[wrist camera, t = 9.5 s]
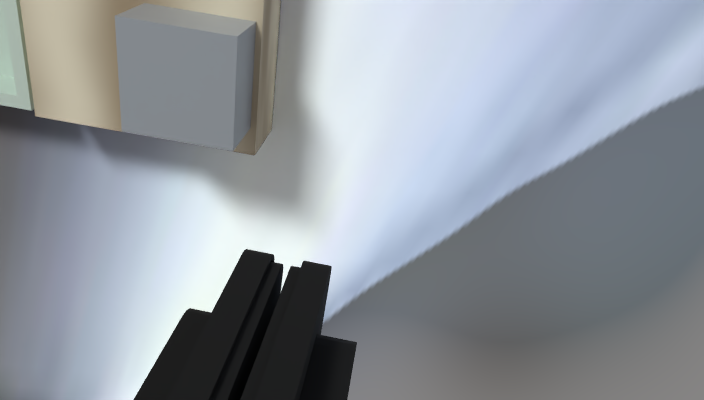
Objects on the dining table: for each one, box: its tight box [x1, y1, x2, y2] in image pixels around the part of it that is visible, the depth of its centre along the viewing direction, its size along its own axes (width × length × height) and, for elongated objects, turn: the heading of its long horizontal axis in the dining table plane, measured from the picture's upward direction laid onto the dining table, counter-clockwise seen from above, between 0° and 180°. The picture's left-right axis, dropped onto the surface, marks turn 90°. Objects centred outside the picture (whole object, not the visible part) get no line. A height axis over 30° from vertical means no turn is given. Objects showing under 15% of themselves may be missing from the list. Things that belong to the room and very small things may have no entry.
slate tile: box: [115, 3, 256, 151], centre depth 23 cm, size 4×4×2 cm
